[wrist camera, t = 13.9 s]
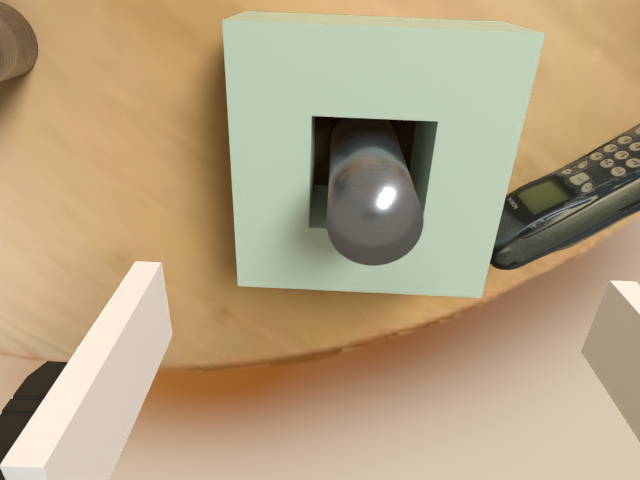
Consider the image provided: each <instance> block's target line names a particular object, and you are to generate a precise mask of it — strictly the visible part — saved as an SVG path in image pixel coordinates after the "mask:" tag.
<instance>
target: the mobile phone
mask: <svg viewBox="0 0 640 480" xmlns="http://www.w3.org/2000/svg"><path fill="white" fill-rule="evenodd" d="M639 211H640V125H638V126H636V127H635V128H633V129H631V130H629V131H628V132H626V133H624V134H622V135H621V136H619V137H617V138H615V139H614V140H612V141H610V142H608V143H607V144H605V145H603V146H601V147H600V148H598V149H596V150H594V151H593V152H591V153H589V154H588V155H586V156H584V157H582V158H581V159H579V160H577V161H575V162H573V163H571V164H569V165H567V166H565V167H563V168H561V169H559V170H557V171H555V172H553V173H551V174H549V175H547V176H544V177H542V178H540V179H538V180H536V181H534V182H531V183H528V184H526V185H525V186H523V187H521V188H520V189H518V190H517V191H515V192H514V193H512V194H511V195H509V196H508V197H506V198H505V202H504V206H503V210H502V215H501V219H500V223H499V227H498V231H497V235H496V239H495V243H494V248H493V252H492V256H491V260H490V264H491V265H493V266H494V267H495V268H498V269H502V270H511V269H516V268H519V267H521V266H524V265H526V264H528V263H530V262H532V261H534V260H537V259H539V258H541V257H543V256H546V255H548V254H551V253H553V252H556V251H559V250H563V249H566V248H569V247H571V246H574V245H576V244H578V243H579V242H581V241H583V240H585V239H587V238H589V237H591V236H593V235H595V234H597V233H599V232H601V231H603V230H605V229H607V228H609V227H610V226H612V225H614V224H616V223H617V222H619V221H621V220H623V219H625V218H627V217H629V216H631V215H633V214H635V213H637V212H639Z"/></svg>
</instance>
